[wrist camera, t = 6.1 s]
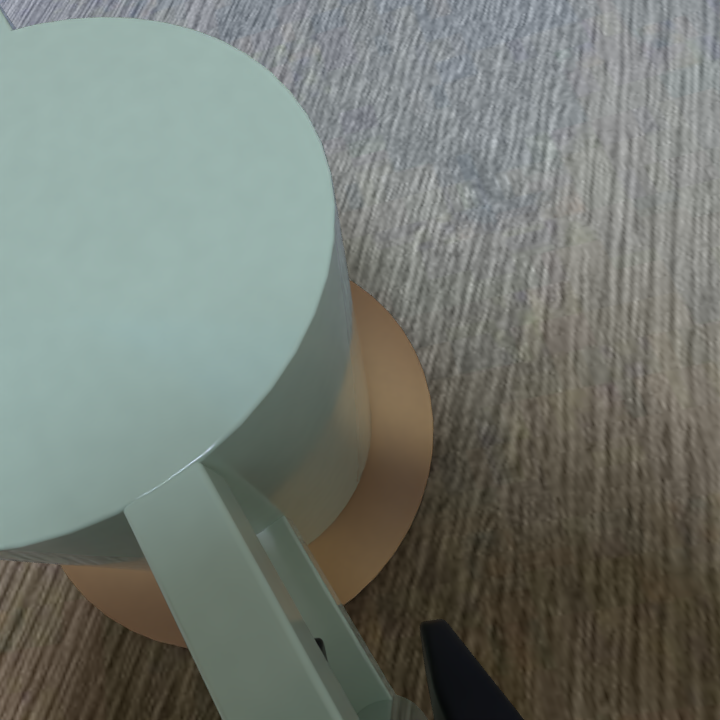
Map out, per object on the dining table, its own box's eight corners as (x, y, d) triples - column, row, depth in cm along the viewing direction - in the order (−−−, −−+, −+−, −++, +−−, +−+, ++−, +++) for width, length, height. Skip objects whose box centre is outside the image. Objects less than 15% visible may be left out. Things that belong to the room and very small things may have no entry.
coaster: (413, 680, 15) (414, 683, 14) (-17, 614, 16) (-28, 615, 16) (446, 273, 19) (447, 267, 19) (106, 247, 20) (101, 241, 20)
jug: (36, 358, 18) (-359, 107, 9) (260, 228, 20) (127, -113, 10) (263, 847, 13) (-94, 1513, 4) (547, 627, 14) (827, 701, 5)
